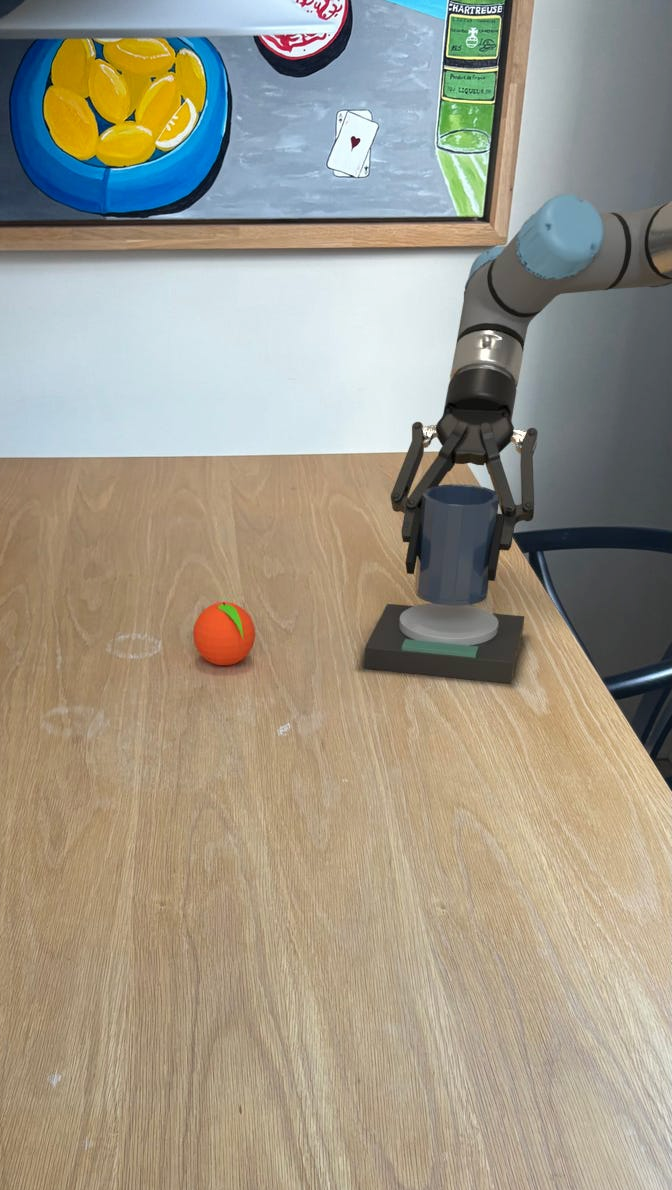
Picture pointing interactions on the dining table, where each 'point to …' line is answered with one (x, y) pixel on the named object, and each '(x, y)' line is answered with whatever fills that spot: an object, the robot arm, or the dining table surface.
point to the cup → (455, 544)
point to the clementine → (224, 633)
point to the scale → (445, 642)
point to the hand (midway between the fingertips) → (450, 571)
